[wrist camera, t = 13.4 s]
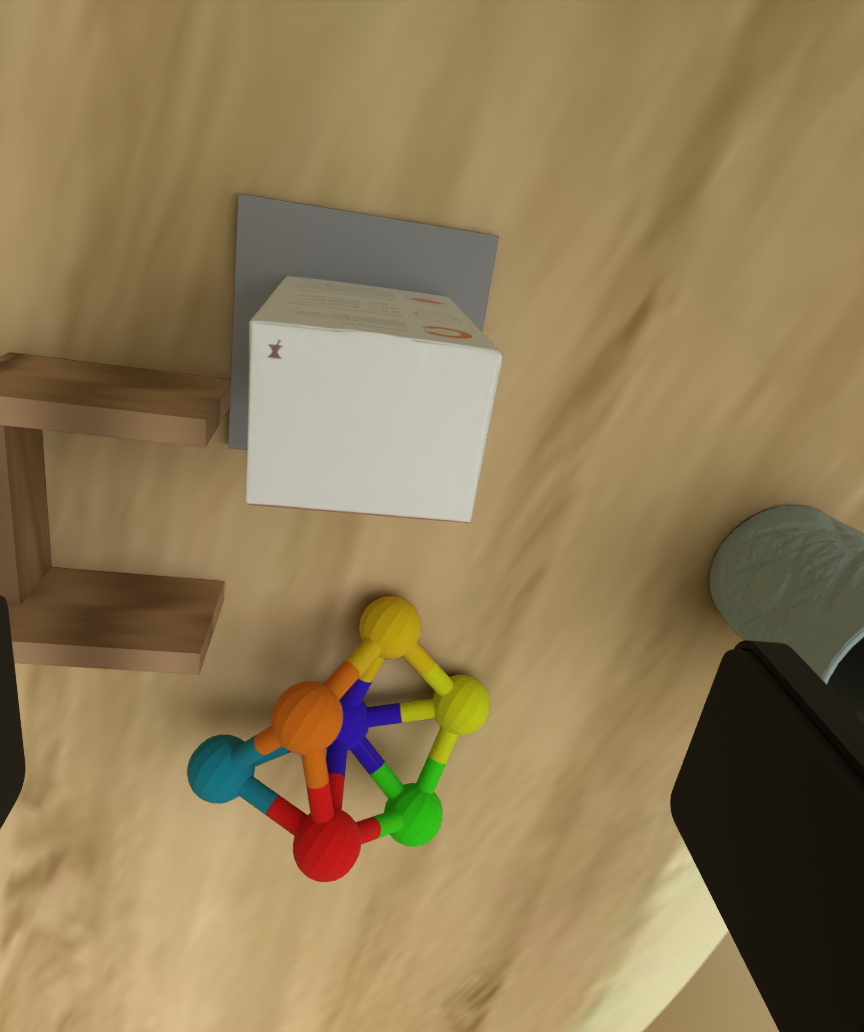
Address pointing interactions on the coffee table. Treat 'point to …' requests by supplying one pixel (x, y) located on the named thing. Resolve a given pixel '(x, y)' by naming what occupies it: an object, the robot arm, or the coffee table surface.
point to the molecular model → (347, 748)
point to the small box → (367, 401)
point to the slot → (25, 530)
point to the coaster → (344, 267)
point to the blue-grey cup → (798, 591)
